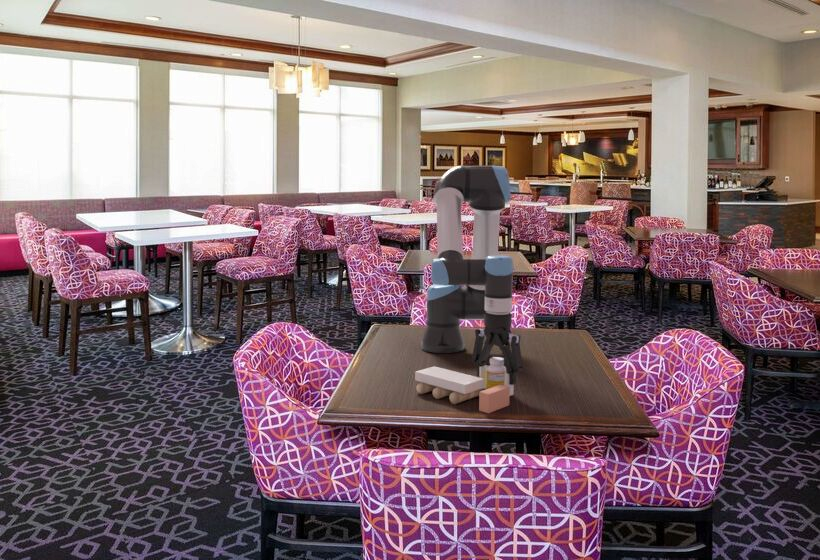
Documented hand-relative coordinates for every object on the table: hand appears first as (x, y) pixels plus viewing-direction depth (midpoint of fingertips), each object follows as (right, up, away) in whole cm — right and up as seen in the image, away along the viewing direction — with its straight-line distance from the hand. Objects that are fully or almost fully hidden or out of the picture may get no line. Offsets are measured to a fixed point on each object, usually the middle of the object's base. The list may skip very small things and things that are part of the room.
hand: (495, 391), depth 190 cm
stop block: (-2, -2, -13) cm, 13 cm away
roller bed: (-13, 0, -2) cm, 14 cm away
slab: (-13, +3, -3) cm, 14 cm away
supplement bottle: (0, 0, 0) cm, 0 cm away
